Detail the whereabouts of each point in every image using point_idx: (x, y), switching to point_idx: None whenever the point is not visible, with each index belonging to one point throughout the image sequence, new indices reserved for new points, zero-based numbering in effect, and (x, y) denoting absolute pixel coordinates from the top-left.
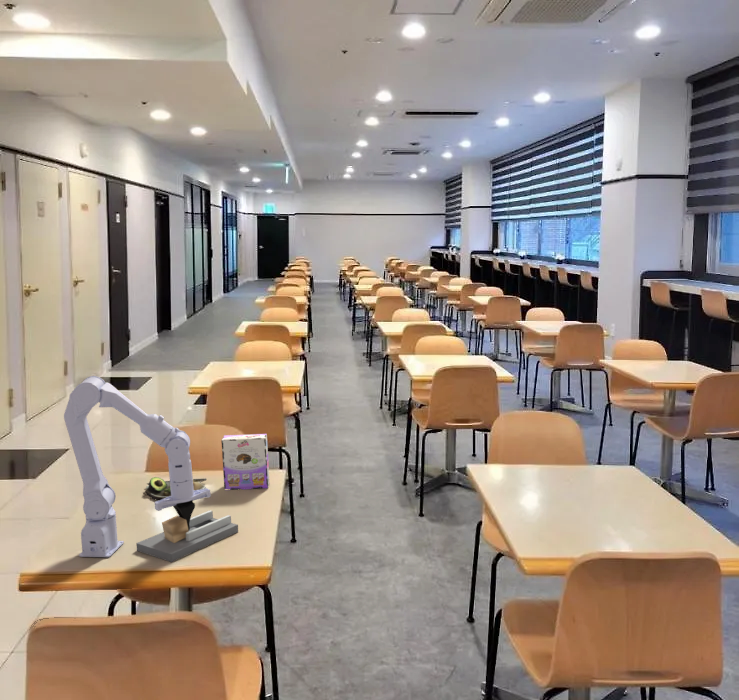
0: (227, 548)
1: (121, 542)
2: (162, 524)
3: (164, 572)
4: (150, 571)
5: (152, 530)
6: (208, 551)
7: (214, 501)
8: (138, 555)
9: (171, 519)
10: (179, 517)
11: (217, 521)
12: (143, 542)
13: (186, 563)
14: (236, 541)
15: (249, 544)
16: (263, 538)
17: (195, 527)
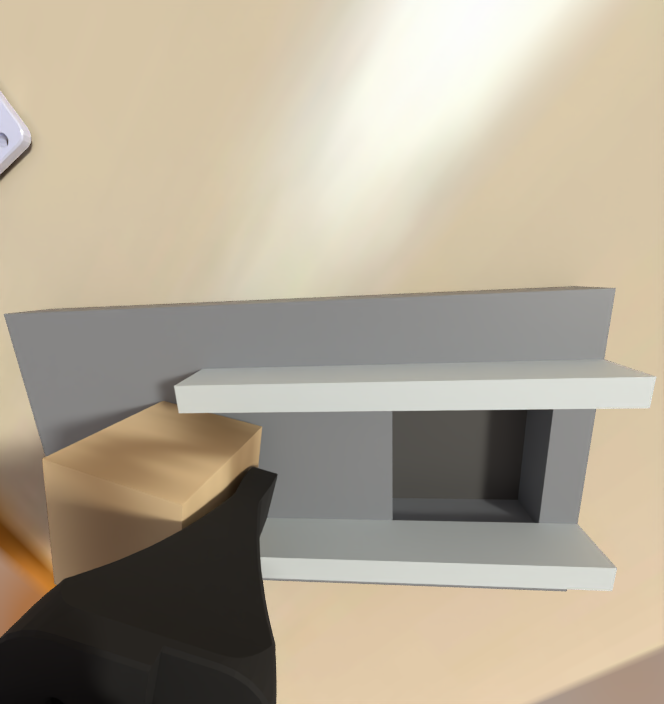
0: (352, 627)
1: (10, 136)
2: (60, 455)
3: (46, 582)
4: (9, 535)
5: (274, 92)
6: (280, 586)
7: None
8: None
9: (113, 507)
10: None
11: (468, 585)
12: (40, 342)
13: None
14: (434, 612)
15: (438, 670)
16: (527, 679)
17: (391, 419)
